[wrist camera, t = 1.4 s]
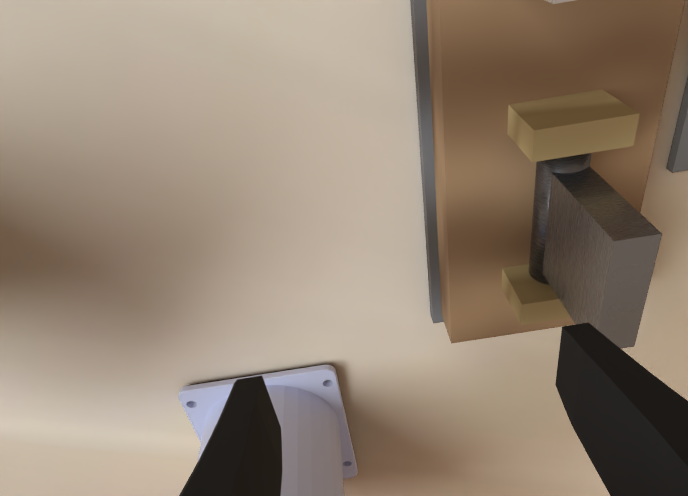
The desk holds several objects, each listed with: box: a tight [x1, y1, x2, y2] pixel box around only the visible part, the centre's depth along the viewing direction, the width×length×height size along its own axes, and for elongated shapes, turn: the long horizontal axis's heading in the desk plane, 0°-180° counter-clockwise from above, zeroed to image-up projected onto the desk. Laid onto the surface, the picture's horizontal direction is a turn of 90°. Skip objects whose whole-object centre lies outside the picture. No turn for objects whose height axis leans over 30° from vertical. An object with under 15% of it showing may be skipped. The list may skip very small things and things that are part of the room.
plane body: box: [410, 0, 685, 343], centre depth 17 cm, size 22×8×5 cm, turn 8°
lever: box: [529, 153, 662, 348], centre depth 16 cm, size 5×2×5 cm, turn 8°
